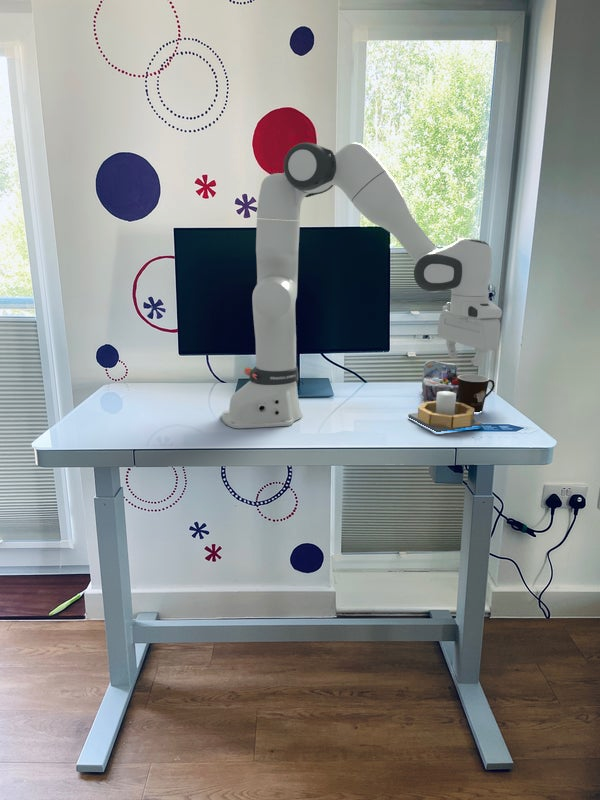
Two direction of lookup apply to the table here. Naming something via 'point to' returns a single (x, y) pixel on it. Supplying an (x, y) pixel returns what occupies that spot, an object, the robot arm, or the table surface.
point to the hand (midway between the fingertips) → (463, 361)
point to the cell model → (439, 379)
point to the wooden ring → (442, 420)
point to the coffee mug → (473, 390)
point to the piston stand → (444, 411)
